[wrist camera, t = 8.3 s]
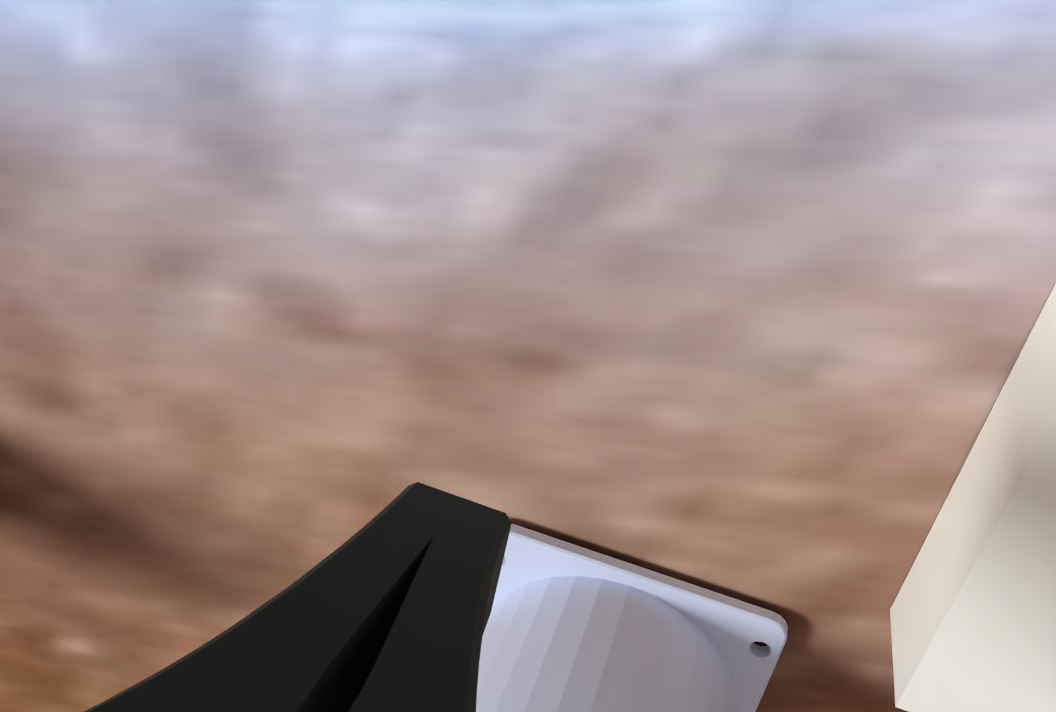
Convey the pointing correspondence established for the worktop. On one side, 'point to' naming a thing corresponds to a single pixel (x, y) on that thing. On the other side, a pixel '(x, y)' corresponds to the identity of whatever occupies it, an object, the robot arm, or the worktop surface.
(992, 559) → the housing
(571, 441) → the worktop surface
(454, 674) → the robot arm
